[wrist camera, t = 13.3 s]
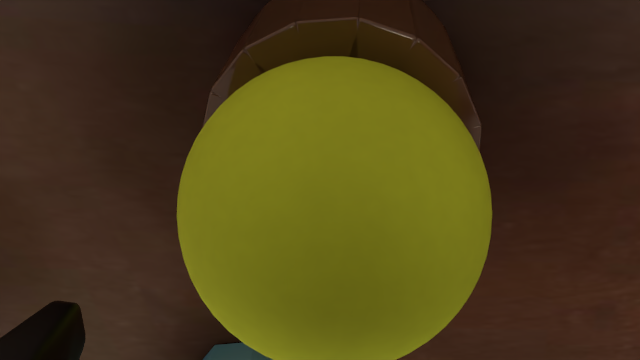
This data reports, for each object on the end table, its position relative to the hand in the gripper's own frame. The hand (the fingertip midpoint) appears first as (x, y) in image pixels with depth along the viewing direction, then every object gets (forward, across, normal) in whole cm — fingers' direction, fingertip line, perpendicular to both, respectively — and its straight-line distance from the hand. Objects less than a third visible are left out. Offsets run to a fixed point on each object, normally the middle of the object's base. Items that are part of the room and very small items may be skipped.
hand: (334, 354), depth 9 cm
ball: (+4, 0, 0) cm, 4 cm away
